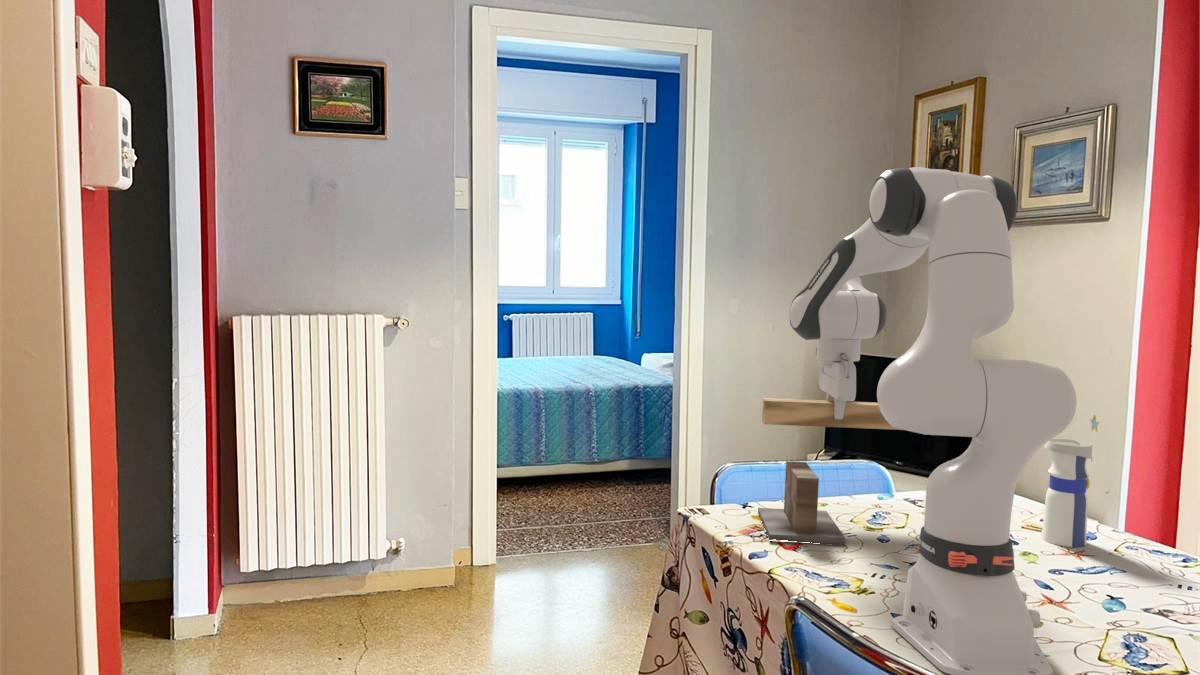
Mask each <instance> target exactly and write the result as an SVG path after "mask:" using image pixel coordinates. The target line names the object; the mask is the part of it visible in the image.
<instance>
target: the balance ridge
mask: <svg viewBox="0 0 1200 675" xmlns="http://www.w3.org/2000/svg"><path fill="white" fill-rule="evenodd" d="M784 480H785V481H784V502H783V503H784V504H783V508H767V507H765V508H764V507H758V509H757V511H758V512H757V515H758V514H759V516H758V518H759V517H760V519H761V521H762V523H761V525H762V524H763V526H764V528H765V530H766V532H767V535H768V537H769V539H776V540H788V541H797V542H810V543H811V542H812V543H820V544H832V545H831V546H841V545H845V546H846V537H845V535H844V534H843V532H842V531H841V529H840V528H839V526H838V525H837V524H836V523H835V521H834V519H833V518H832V516H830V514H829V513H828V512H827V510H818V507H819V506H818V505H819V504H818V502H819V484H820V483H819V477H818V476H817V475H816V473H815V471H813V469H812V468H811V467H810V466H809V464H808V463H807V462H805V461H785V478H784ZM760 519H759V520H760ZM761 521H760V522H761ZM763 526H762V527H763ZM764 528H763V529H764ZM767 535H766V536H767ZM820 544H819V545H820Z"/></svg>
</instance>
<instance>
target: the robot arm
mask: <svg viewBox="0 0 1200 675" xmlns="http://www.w3.org/2000/svg"><path fill="white" fill-rule="evenodd" d="M868 202H869V203H868V208H869V209H868V210H869V218H868V219H867V220H866V221H865V222H864V223H863V224H862V225H861V226H860V227H858V229H856V230H855V231H854V232H853V233H851V234H849V235H847V236H846V237H843V238H842V239H840V240H839V241H838V242H837V243H836V244H835V245H834V247H833V248H832V250H831V251H829V254H828V255H827V257H826V258H825V259H824V261H823V262H822V263H821V265H820V266H819V268H818V269H817V271H816V272H815V273H814V275H813V276H812V277H811V279H810V281H809V282H808V283H807V284H806V286H805V287H804V288H803V289H802V290H801V291H799V292H798V293H797V295H796V296H795V297H794V298H793V299H792V302H791V304H790V309H789V324H790V326H791V328H792V329H793V331H794V332H795V333H796V334H797V335H798V336H799V337H801V338H803V339H804V340H805V341H810V340H817V341H816V347H815V356H816V359H817V369H818V370H817V374H818V385H819V386H818V387H819V389H820V390H821V391H823V392H825V393H826V401H834V402H835V407H834V411H833V417H834V418H835V419H843V415H844V409H845V405H846V401H851V402H855V400H856V396H857V368H856V365H855V363H854V362H860V360H861V344H862V342H861V340H866V339H867V340H868V339H871V338H875V337H877V335H879V334H880V333H881V332H882V330H883V329H884V328H885V326H886V319H887V307H886V304H885V302H884V301H883V299H882V298H881V297H880V296H879V294H877V293H875V292H871V291H869V290H868V289H866V288H865V287H864V286H863V284H862V279H861V278H860V277H861V276H862V277H863V276H867V275H872V274H878V273H884V272H891V271H897V270H901V269H904V268H907V267H909V266H911V265H913V264H914V263H915V262H917V261H918V259H919V258H921V257H922V256H923V255H924V253H925V252H926V250H927V249H928V254H927V255H928V257H927V258H928V260H927V261H928V263H927V265H928V267H927V268H928V296H927V309H926V310H927V311H926V315H925V316H926V318H925V321H924V324H923V327H922V329H921V332H920V333H919V335H918V337H917V339H916V340H915V341H914V343H913V344H912V345H911V347H909V348H908V349H907V351H906V352H904V353H903V354H902V355H901V356H899V357H898V358H896V359H895V360H893V361H892V362H891V363H889V365H888V366H887V367H886V368H885V369H884V370H883V373H882V374H881V376H880V378H879V381H878V384H877V389H876V399H877V403H878V405H879V408H880V411H881V413H882V415H883V416H884V418H885V419H886V420H887V422H888V423H889V424H890V425H891V426H893V427H896V428H900V429H903V430H902V431H907V432H911V433H916V434H922V435H924V436H925V435H930V436H946V437H947V436H949V437H965V438H967V437H968V438H971V441H970V444H969V445H968V447H967V449H965V451H963V453H962V454H960V455H959V456H957V457H955V458H952V459H951V460H947V461H946V462H943V463H942V464H939V465H938V466H937V467H936V468H935V469H934V470H932V472H931V473H930V474H929V476H928V478H927V480H926V487H925V488H926V489H925V500H924V501H925V505H924V520H923V521H924V522H923V524H924V525H923V526H922V527H921V528H920V533H919V534H920V535H919V537H918V538H919V539H918V544H919V549H918V552H919V554H920V556H919V558H918V560H917V561H916V562H915V563H914V564H913V565H912V566H911V567H910V568H909V569H908V571H907V575H906V576H907V577H906V582H905V592H904V600H903V608H902V609H903V610H902V615H898V616H896V617H893V618H892V621H891V622H892V623H891V627H892V629H894V630H895V631H896V632H897V633H898V634H899V635H900V636H902V637H903V638H904V639H905V640H906V641H907V642H909V644H911V645H912V646H913V647H914V648H915V649H916V650H917V651H918V652H920V653H921V655H923V656H924V657H925V658H926V659H927V660H928V661H929V662H931V664H933V665H934V666H935V667H936V668H938V670H939V671H941V672H943V673H946V674H948V675H1054V671H1053V668H1052V667H1051V665H1050V663H1049V660H1047V658H1046V656H1045V654H1044V653H1043V650H1042V649H1041V647H1040V645H1039V644H1038V642H1037V640H1036V638H1035V631H1034V630H1035V629H1039V628H1040V626H1041V614H1040V612H1039V610H1037V609H1030V608H1028V606H1027V603H1026V602H1027V598H1028V597H1027V596H1028V594H1027V592H1026V591H1023V590H1021V588H1020V586H1019V583H1018V581H1017V578H1016V575H1015V574H1014V570H1015V559H1014V558H1015V550H1014V546H1013V541H1012V539H1011V537H1010V532H1011V530H1010V529H1011V519H1012V512H1013V505H1014V498H1015V493H1016V492H1015V491H1016V487H1017V484H1018V480H1019V479H1020V476H1021V474H1022V472H1023V470H1024V468H1025V467H1026V465H1027V464H1028V462H1029V460H1030V459H1031V458H1032V457H1033V456H1034V455H1035V454H1036V452H1037V451H1038V450H1039V449H1040V448H1041V447H1044V446H1045V444H1046V443H1047V442H1048V441H1049V440H1051V439H1055V437H1057V436H1059V435H1060V434H1062V433H1063V432H1065V430H1066V429H1067V428H1068V427H1069V426H1070V425H1071V422H1072V421H1073V419H1074V416H1075V414H1076V409H1077V393H1076V390H1075V388H1074V385H1073V382H1072V381H1071V379H1070V378H1069V377H1068V375H1067V374H1066V372H1065V371H1063V370H1062V369H1061V368H1059V367H1057V366H1052V365H1047V364H1046V363H1039V362H1034V361H1030V360H1026V359H1025V360H1024V359H1002V358H1001V359H999V358H977V357H973V356H972V350H971V349H972V344H973V343H974V342H973V341H975V340H978V339H980V338H982V337H985V336H987V335H989V334H991V333H993V332H995V331H997V330H998V329H1000V328H1002V327H1003V326H1004V325H1006V324H1007V323H1008V321H1009V320H1010V319H1011V317H1012V315H1013V311H1014V308H1015V302H1014V286H1013V283H1014V281H1013V280H1014V279H1013V261H1012V260H1013V258H1012V248H1011V240H1010V234H1009V233H1010V232H1009V231H1011V229H1012V227H1013V225H1014V223H1015V220H1016V217H1017V212H1018V199H1017V195H1016V192H1015V190H1014V188H1013V186H1012V184H1010V183H1009V182H1008V181H1007V180H1004V179H1001V178H998V177H996V176H991V175H984V176H981V175H977V174H973V173H966V172H959V171H953V170H952V171H951V170H950V169H940V168H937V169H936V168H929V167H925V166H924V167H923V166H915V167H898V168H892V169H888V170H884V171H883V172H882V173H881V174H880V175H879V176H878V177H877V178H876V180H875V181H874V184H873V186H872V189H871V192H870V196H869V201H868Z"/></svg>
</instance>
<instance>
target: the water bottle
mask: <svg viewBox="0 0 1200 675" xmlns="http://www.w3.org/2000/svg"><path fill="white" fill-rule="evenodd" d="M1089 422H1090V423H1091V431H1095V432H1096V433H1098V425H1099V424H1100V421H1098V420H1097V417H1096V414H1094V415H1093V417H1092V419H1090V420H1089ZM1080 445H1081V442H1079V441H1077V440H1074V439H1069V438H1052V439H1051V440H1049V441H1048V442H1046V443H1045V444H1044V445H1043V448H1044V449H1045V450H1047V451H1050V452H1051V458H1052V461H1051V466H1050V467H1049V469H1048V470H1047V472H1048V474H1049V484H1048V485H1049V486H1048V488H1047V490H1046V494H1045V500H1044V501H1045V502H1044V513H1043V514H1044V515H1043V522H1042V523H1043V524H1042V528H1041V529H1042V531H1041V539H1042V541H1044V542H1046V543H1049V544H1053V545H1057V546H1061V547H1062V546H1063V547H1070V548H1082V547H1083V548H1084V547H1085V546H1087V527H1088V526H1087V522H1088V505H1089V502H1088V494H1087V491H1088V490H1089V487H1090V484H1091V483H1090V479H1089V477H1090V474H1089V473H1088V471H1087V461H1088V459H1089V460H1090V461H1091V462H1093V447H1094V446H1093V444H1091V445H1090V446H1089V445H1088V446H1080Z"/></svg>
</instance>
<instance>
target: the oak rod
mask: <svg viewBox="0 0 1200 675" xmlns="http://www.w3.org/2000/svg"><path fill="white" fill-rule="evenodd" d="M834 407H835V402H834V401H827V400H824V399H823V400H822V399H821V400H820V399H819V400H818V399H796V398H795V399H794V398H768V397H767V398H766V397H763V398H762V416H761V417H762V419H761V421H762V423H763V424H764V425H771V426H773V425H775V426H776V425H777V426H795V427H796V426H799V427H802V426H803V427H820V428H821V427H822V428H825V427H826V428H845V429H846V428H847V429H849V428H850V429H851V428H852V429H872V430H874V429H876V430H899V431H904V430H903V429H900V428H896V427H893V426H891V425H890V424H889V423H888V422H887V420H886V419H885V418H884V416H883V415H882V413H881V411H880V408H879V405H878V401H877V402H875V401H874V402H873V401H872V402H871V401H846V405H845V409H844V415H843V419H835V418H834V417H833V411H834Z"/></svg>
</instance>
